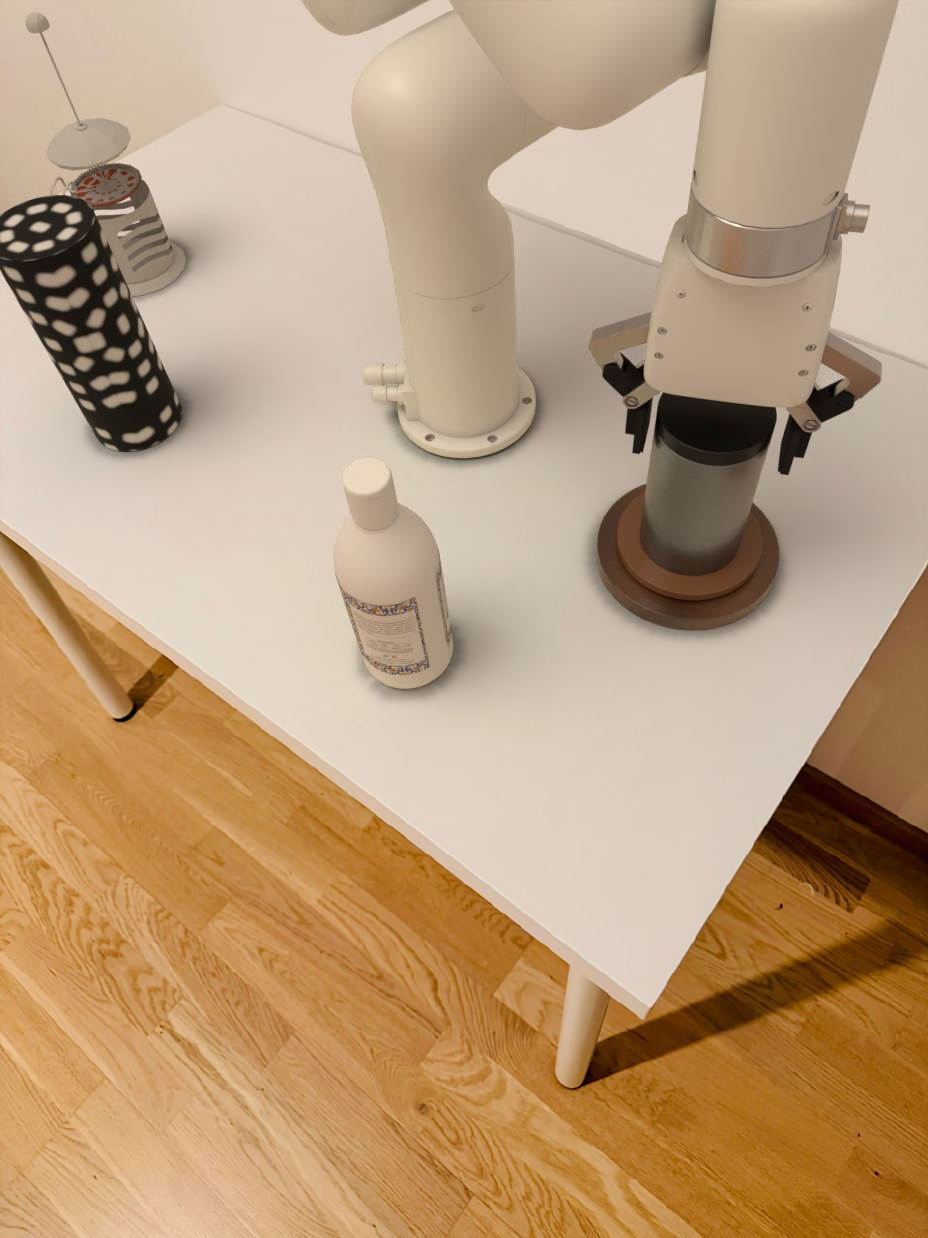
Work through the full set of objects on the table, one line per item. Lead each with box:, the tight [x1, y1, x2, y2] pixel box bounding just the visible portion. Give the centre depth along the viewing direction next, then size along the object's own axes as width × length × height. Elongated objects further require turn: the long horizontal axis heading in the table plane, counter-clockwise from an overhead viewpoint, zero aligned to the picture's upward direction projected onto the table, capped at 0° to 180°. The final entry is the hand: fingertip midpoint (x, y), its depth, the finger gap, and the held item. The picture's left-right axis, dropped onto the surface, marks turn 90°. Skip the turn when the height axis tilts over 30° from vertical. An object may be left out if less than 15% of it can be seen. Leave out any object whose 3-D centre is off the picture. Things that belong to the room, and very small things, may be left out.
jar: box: [617, 392, 778, 600], centre depth 65 cm, size 11×12×14 cm
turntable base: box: [595, 483, 781, 631], centre depth 71 cm, size 14×14×2 cm
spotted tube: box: [0, 194, 183, 453], centre depth 77 cm, size 8×8×20 cm
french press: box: [24, 12, 187, 297], centre depth 87 cm, size 10×12×25 cm
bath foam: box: [333, 457, 454, 690], centre depth 61 cm, size 7×7×20 cm
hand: (711, 449), depth 62 cm, fingers open, 9 cm apart
